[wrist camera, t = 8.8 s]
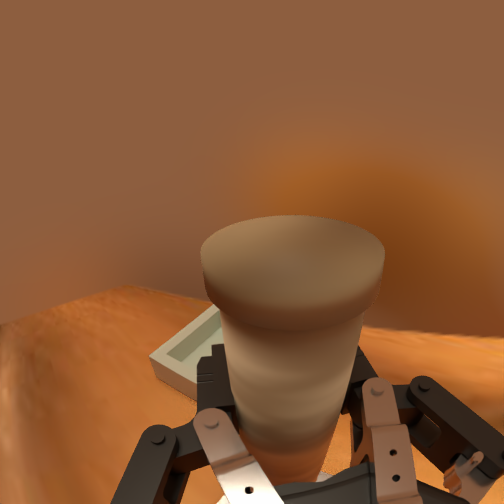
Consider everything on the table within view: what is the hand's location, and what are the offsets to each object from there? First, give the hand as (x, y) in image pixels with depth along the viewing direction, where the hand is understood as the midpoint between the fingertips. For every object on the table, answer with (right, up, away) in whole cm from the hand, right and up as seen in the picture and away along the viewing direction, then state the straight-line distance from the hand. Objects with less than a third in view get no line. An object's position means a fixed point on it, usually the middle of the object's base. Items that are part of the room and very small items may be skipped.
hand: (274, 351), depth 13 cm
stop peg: (+1, -9, +1) cm, 9 cm away
